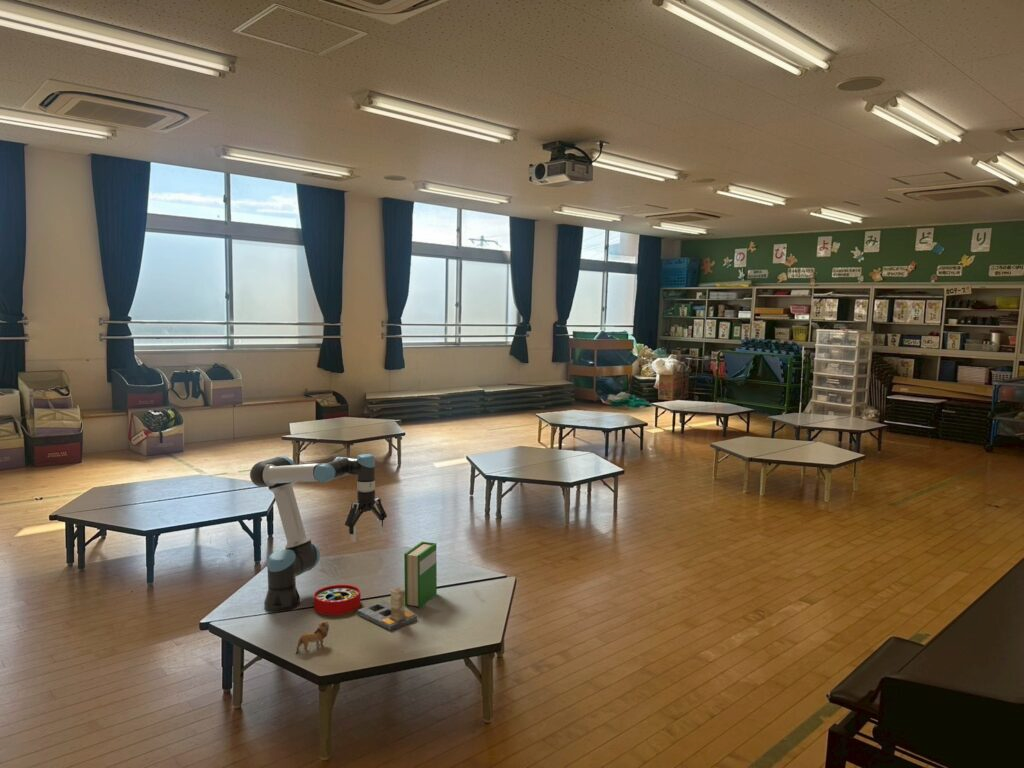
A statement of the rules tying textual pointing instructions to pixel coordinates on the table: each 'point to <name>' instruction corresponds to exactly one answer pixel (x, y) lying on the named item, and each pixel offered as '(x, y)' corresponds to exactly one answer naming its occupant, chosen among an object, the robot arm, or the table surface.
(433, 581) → the hardback book
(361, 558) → the table surface
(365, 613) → the slotted board
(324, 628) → the lion figurine
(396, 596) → the peg
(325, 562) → the table surface
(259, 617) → the table surface
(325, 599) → the toy clock
